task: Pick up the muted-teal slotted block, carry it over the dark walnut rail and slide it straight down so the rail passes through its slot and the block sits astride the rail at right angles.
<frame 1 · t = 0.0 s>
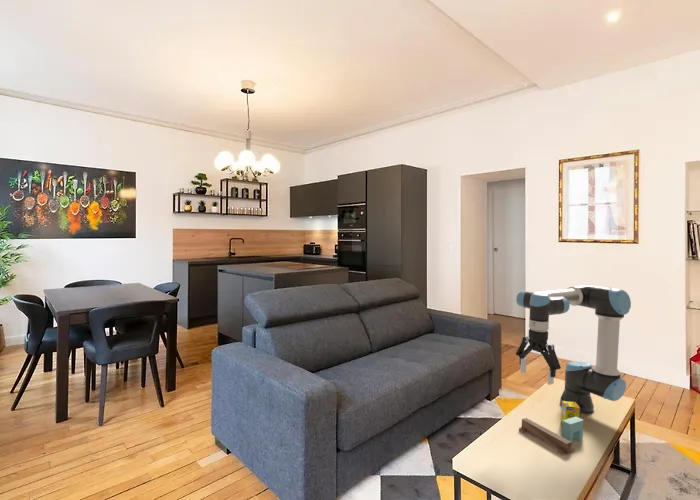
hand: (536, 378, 165), 28 cm above the table, fingers open, 13 cm apart
rail: (545, 440, 167), on the table
supplement box: (569, 427, 179), on the table
slotted block: (572, 440, 168), on the table
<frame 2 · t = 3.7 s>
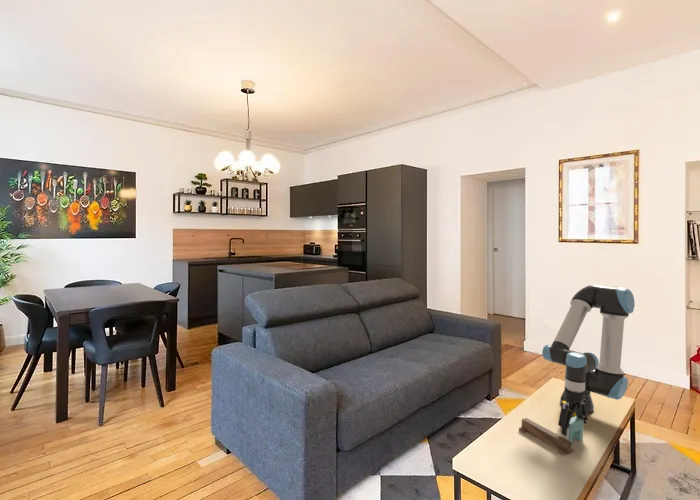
hand: (572, 439, 168), 0 cm above the table, fingers closed on slotted block, 9 cm apart
slotted block: (572, 440, 168), on the table, touching gripper
everything else where it was.
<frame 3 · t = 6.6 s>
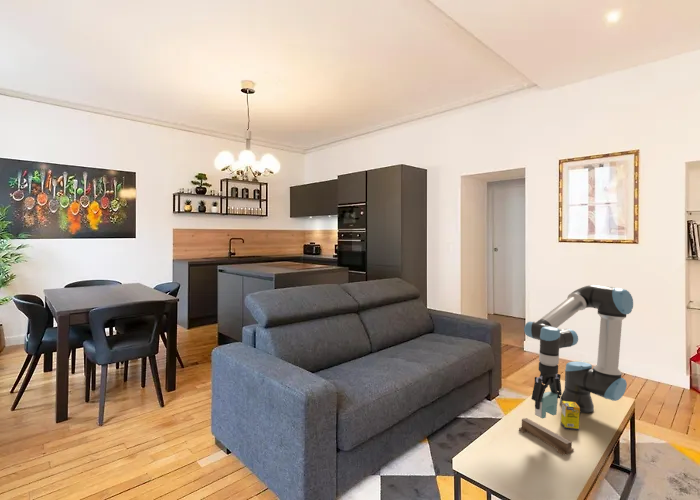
hand: (545, 413, 167), 12 cm above the table, fingers closed on slotted block, 9 cm apart
slotted block: (545, 414, 167), point 11 cm above the table, touching gripper
everything else where it was.
when the fingers open (2 cm above the table, at t = 9.4 s): slotted block drops 1 cm, on the table.
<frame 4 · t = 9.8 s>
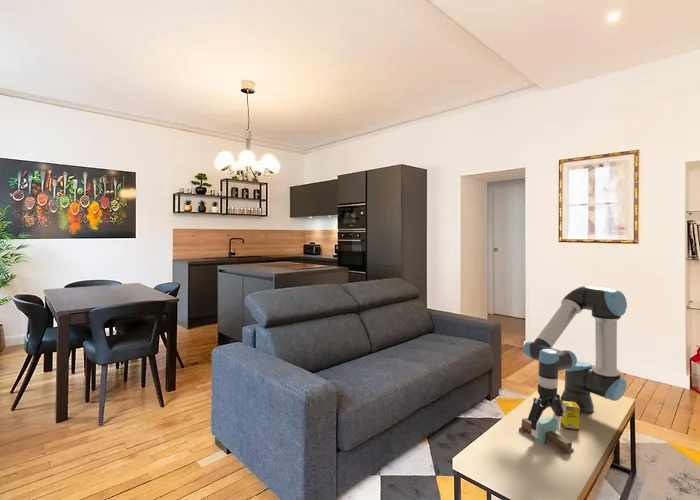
hand: (545, 433, 167), 3 cm above the table, fingers open, 13 cm apart
slotted block: (545, 440, 167), on the table
everything else where it was.
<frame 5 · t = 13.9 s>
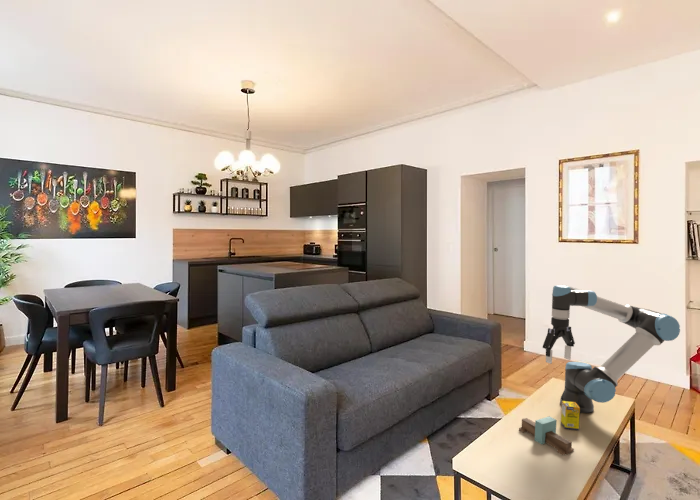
hand: (558, 360, 185), 29 cm above the table, fingers open, 13 cm apart
nothing on the table moved.
at the end: slotted block inside the target area on the rail (0.0 cm from its centre), point 0.0 cm above the rail's base; slotted block tilted 0°; the gripper is holding nothing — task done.
